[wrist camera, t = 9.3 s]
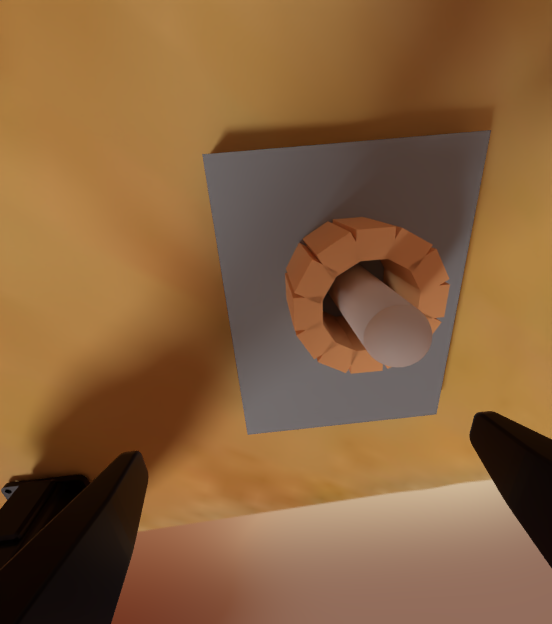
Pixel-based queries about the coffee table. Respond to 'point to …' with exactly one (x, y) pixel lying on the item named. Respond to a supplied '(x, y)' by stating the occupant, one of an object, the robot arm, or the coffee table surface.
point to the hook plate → (299, 208)
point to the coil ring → (340, 257)
